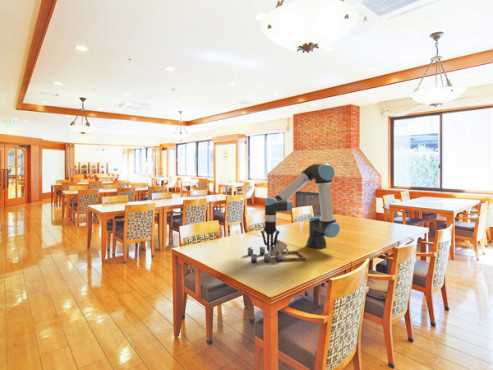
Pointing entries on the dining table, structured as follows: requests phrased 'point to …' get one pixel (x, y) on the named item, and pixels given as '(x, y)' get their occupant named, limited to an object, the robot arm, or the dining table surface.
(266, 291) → the dining table surface
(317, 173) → the robot arm
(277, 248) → the mug
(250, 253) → the spacer field
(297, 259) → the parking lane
